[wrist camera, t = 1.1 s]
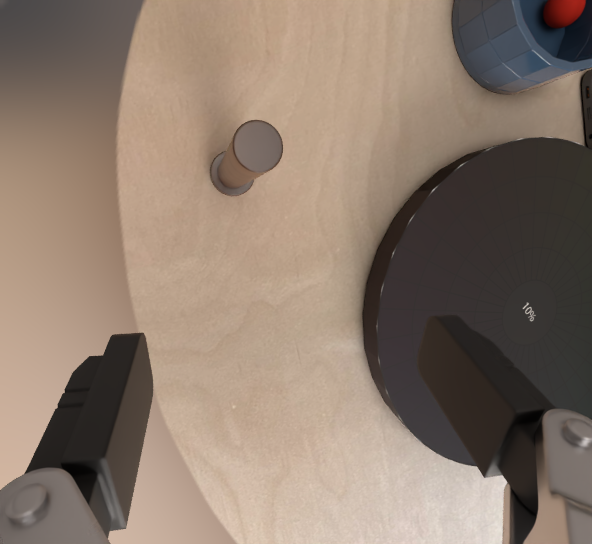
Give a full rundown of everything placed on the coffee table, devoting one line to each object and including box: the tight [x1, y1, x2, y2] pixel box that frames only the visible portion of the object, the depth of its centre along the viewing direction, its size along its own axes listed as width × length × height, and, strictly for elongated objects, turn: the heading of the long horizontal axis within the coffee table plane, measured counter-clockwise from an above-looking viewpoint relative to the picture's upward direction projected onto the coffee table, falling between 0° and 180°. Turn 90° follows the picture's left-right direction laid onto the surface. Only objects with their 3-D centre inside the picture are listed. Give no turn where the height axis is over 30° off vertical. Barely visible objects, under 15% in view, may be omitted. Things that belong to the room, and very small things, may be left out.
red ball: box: [543, 0, 586, 28], centre depth 30 cm, size 3×3×3 cm
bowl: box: [452, 0, 592, 94], centre depth 29 cm, size 11×11×6 cm
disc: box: [363, 137, 592, 466], centre depth 35 cm, size 30×30×3 cm
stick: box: [210, 120, 283, 196], centre depth 22 cm, size 3×3×12 cm
